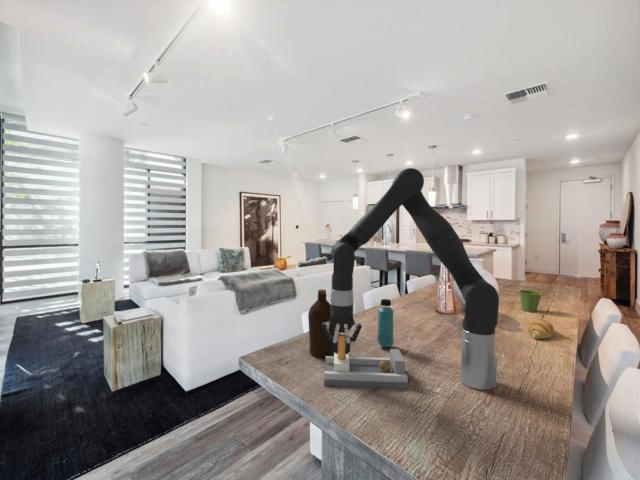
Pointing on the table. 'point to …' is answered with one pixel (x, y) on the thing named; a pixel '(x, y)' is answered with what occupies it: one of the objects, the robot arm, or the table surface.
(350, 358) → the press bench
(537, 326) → the croissant
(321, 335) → the olive oil
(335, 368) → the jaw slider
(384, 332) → the beverage bottle
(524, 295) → the plant pot
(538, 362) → the table surface
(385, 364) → the walnut
